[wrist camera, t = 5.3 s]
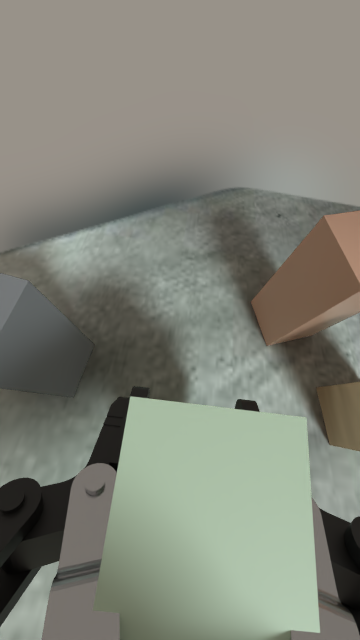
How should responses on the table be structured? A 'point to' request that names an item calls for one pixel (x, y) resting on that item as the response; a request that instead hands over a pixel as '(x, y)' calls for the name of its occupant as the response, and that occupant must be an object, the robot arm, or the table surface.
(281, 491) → the green block
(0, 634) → the table surface
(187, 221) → the table surface
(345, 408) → the oak block
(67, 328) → the charcoal block
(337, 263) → the terracotta block
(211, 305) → the table surface
